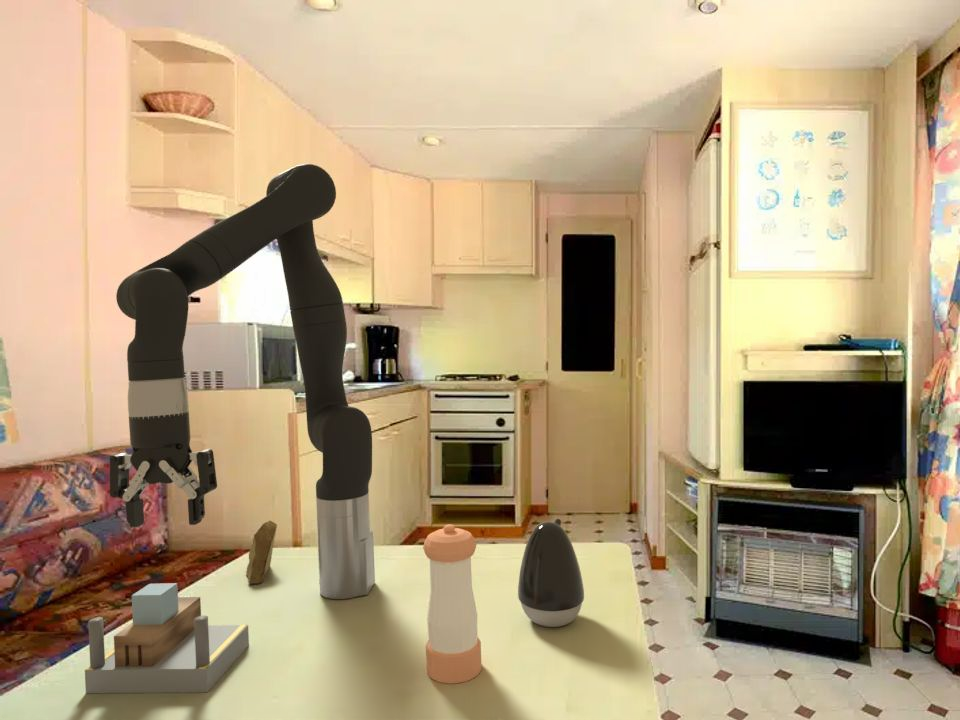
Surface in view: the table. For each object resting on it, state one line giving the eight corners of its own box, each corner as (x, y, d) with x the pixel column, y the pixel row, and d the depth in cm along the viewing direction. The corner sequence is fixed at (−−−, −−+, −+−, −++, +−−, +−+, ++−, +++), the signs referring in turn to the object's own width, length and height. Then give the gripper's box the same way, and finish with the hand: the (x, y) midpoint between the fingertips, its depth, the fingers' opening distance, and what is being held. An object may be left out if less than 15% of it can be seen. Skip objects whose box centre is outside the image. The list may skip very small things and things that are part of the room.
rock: (270, 575, 109) (299, 550, 118) (241, 539, 109) (272, 516, 118) (234, 604, 112) (265, 577, 121) (206, 569, 112) (239, 545, 121)
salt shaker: (446, 650, 83) (441, 515, 83) (491, 662, 80) (486, 520, 79) (415, 675, 77) (410, 529, 77) (462, 689, 73) (457, 536, 73)
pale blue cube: (150, 611, 83) (149, 583, 83) (178, 611, 83) (177, 583, 83) (132, 625, 79) (131, 595, 79) (161, 624, 79) (160, 594, 79)
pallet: (168, 624, 88) (167, 597, 88) (201, 623, 88) (200, 596, 88) (115, 666, 76) (113, 636, 76) (152, 666, 76) (151, 635, 76)
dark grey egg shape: (592, 610, 94) (589, 516, 94) (574, 640, 85) (571, 535, 85) (532, 601, 98) (529, 510, 98) (509, 628, 89) (505, 528, 89)
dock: (249, 645, 87) (246, 584, 87) (207, 692, 75) (204, 621, 75) (143, 646, 87) (140, 586, 87) (85, 693, 75) (82, 623, 75)
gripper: (221, 406, 87) (227, 515, 87) (127, 410, 88) (134, 519, 88) (194, 412, 80) (201, 531, 80) (92, 416, 80) (99, 535, 80)
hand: (166, 524), depth 84 cm, fingers open, 8 cm apart
